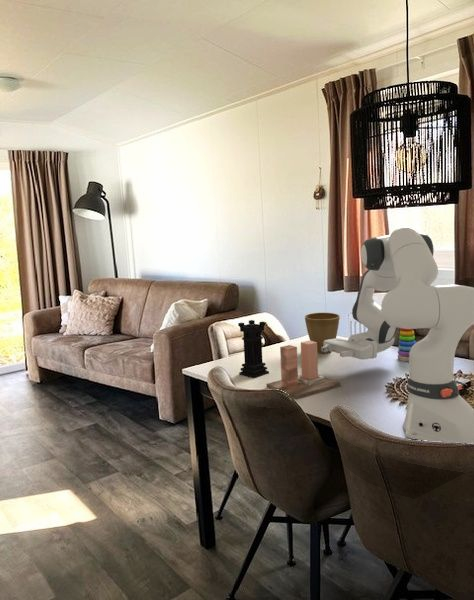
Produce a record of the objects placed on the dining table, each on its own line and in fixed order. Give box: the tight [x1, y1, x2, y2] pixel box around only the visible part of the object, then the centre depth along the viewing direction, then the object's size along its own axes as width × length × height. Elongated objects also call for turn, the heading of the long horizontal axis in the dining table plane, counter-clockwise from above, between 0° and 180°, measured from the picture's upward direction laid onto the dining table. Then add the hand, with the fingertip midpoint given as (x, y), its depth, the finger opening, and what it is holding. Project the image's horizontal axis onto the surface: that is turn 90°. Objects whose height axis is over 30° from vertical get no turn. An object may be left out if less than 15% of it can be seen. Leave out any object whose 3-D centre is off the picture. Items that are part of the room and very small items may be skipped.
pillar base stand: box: [266, 344, 342, 400], centre depth 181 cm, size 16×20×15 cm
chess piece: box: [237, 319, 270, 379], centre depth 198 cm, size 8×8×20 cm
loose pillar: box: [300, 340, 319, 381], centre depth 182 cm, size 4×4×14 cm
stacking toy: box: [396, 328, 417, 362], centre depth 207 cm, size 8×8×19 cm
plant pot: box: [304, 312, 341, 355], centre depth 225 cm, size 15×15×16 cm
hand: (331, 352), depth 188 cm, fingers open, 8 cm apart
